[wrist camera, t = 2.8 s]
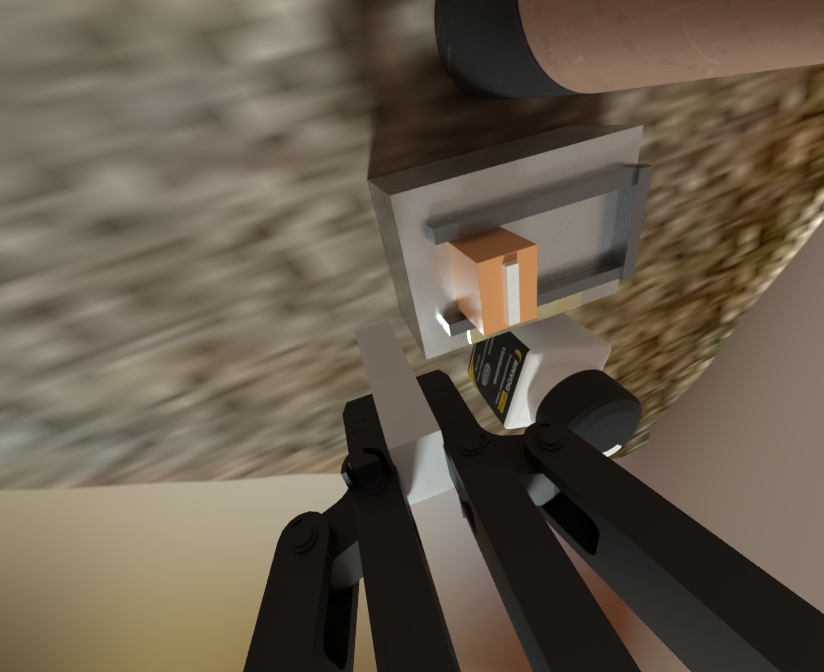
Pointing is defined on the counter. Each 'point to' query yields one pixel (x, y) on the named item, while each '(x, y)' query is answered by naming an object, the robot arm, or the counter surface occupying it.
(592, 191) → the grey boxy piece
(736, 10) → the travel mug
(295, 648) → the robot arm
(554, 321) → the medicine bottle
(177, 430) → the counter surface
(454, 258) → the toggle
